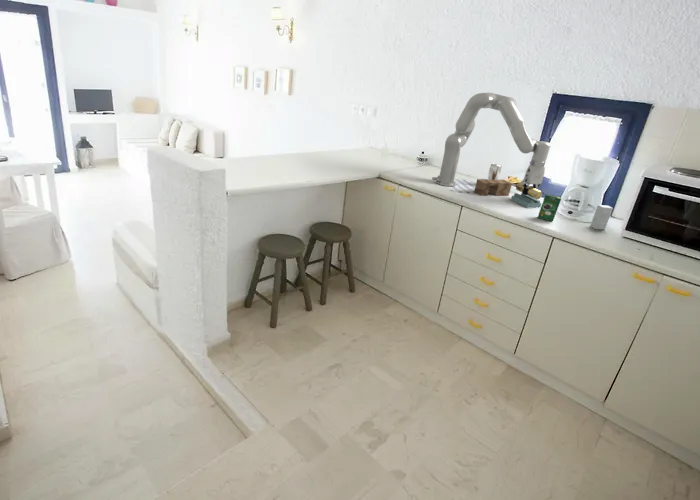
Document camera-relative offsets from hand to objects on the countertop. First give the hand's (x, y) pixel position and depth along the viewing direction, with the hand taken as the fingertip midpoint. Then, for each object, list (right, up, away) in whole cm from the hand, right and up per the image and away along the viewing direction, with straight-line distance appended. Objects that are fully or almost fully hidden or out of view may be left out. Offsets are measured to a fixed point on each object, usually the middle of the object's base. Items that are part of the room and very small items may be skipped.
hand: (528, 194), depth 241 cm
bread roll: (0, 0, +1) cm, 1 cm away
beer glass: (-13, +8, +28) cm, 32 cm away
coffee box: (0, -17, -21) cm, 27 cm away
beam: (-17, +2, +14) cm, 22 cm away
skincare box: (+26, -21, -24) cm, 41 cm away
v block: (-1, -5, +3) cm, 6 cm away
